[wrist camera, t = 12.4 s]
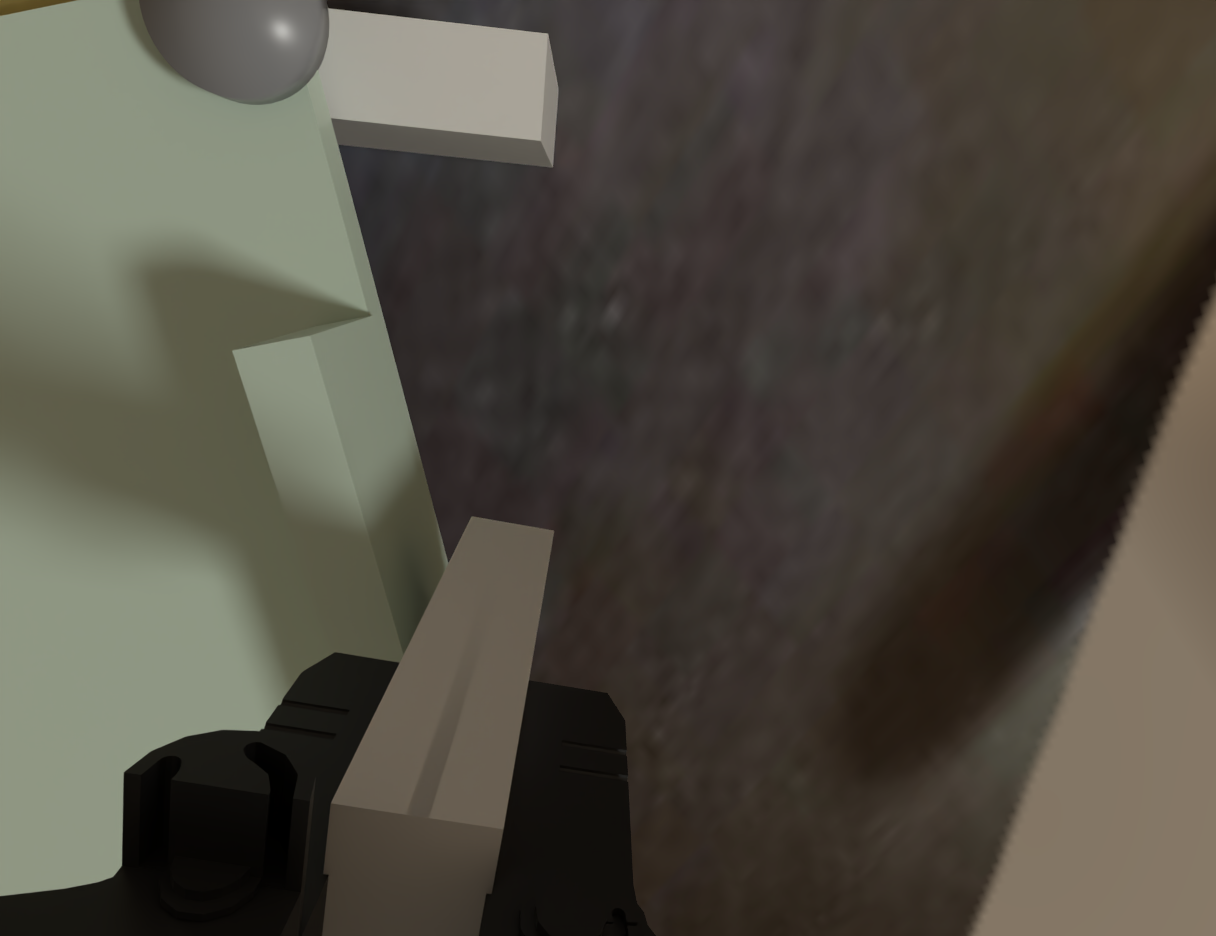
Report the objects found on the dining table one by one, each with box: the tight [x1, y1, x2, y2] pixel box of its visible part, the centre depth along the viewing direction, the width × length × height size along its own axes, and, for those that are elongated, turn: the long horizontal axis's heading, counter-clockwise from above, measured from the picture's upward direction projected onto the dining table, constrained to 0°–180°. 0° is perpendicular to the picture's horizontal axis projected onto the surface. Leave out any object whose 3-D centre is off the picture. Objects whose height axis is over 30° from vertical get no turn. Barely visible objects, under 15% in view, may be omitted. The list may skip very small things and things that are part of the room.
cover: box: [0, 0, 448, 896], centre depth 13 cm, size 15×20×4 cm
